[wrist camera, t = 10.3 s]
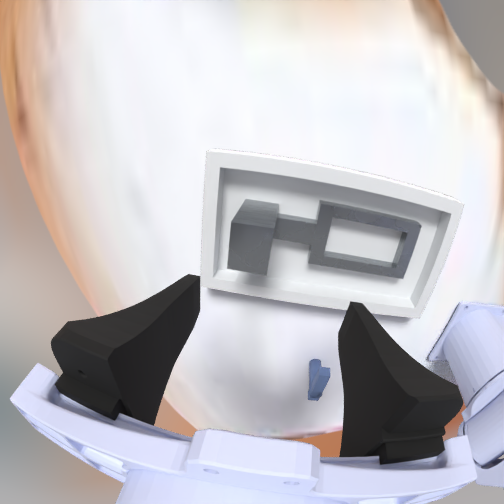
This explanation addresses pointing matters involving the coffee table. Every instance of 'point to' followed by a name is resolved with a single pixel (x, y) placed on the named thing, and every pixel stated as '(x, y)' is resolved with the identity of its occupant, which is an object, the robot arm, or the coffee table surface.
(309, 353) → the coffee table surface
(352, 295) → the tray
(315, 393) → the t-stake
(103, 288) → the coffee table surface
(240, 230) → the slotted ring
